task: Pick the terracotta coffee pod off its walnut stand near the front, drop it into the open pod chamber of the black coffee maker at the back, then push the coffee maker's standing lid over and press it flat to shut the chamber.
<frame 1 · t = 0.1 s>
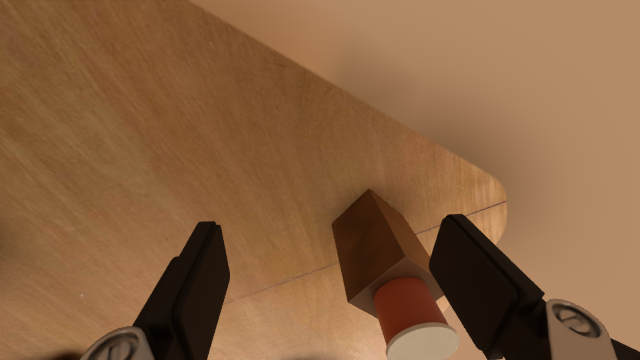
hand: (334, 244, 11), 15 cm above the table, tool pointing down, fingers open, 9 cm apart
pod: (400, 296, 20), point 10 cm above the table, touching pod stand
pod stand: (367, 220, 29), on the table
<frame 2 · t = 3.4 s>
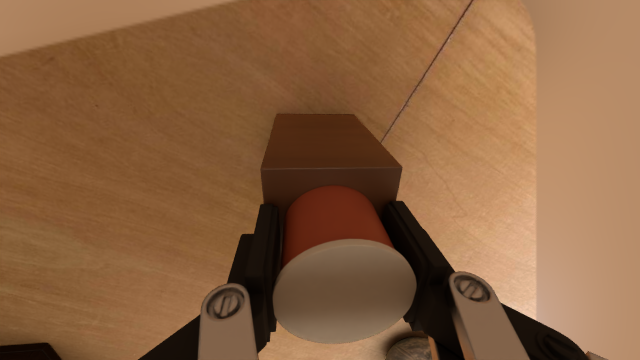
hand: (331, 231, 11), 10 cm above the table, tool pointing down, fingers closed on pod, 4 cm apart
pod: (330, 225, 12), point 10 cm above the table, touching gripper, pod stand
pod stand: (315, 150, 21), on the table
mug 2: (410, 337, 35), on the table
when the fingers open (8 cm above the table, at t = 15.1 s): pod stays where it is, resting on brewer.
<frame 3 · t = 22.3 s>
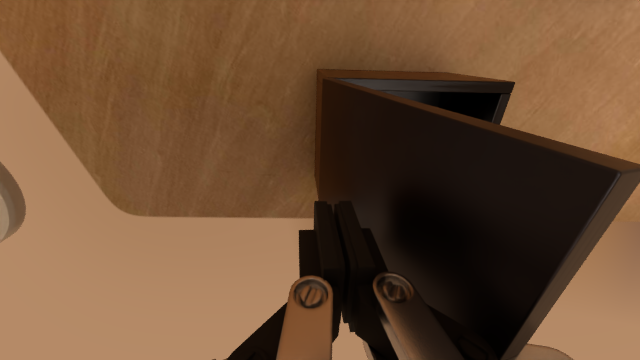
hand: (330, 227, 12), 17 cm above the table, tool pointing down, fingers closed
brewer: (376, 127, 28), on the table
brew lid: (370, 214, 13), point 16 cm above the table, hinge at 77.5°
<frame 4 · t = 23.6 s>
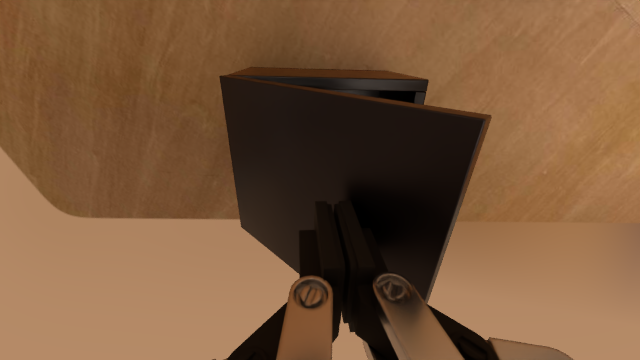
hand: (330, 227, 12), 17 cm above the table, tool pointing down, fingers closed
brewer: (318, 127, 27), on the table
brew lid: (306, 198, 14), point 15 cm above the table, hinge at 47.8°, touching gripper
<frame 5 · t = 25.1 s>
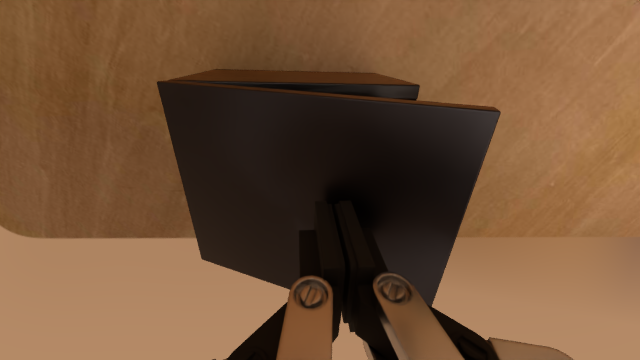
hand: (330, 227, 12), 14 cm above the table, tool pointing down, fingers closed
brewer: (298, 136, 24), on the table
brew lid: (297, 209, 13), point 12 cm above the table, hinge at 25.4°, touching gripper
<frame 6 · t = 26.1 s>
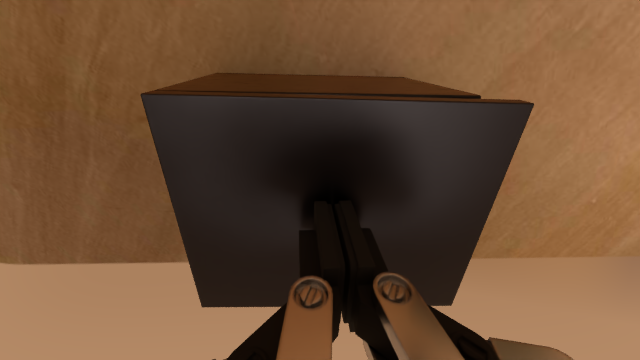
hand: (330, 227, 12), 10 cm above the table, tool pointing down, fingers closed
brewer: (312, 150, 21), on the table
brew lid: (333, 221, 12), point 10 cm above the table, hinge at 3.7°
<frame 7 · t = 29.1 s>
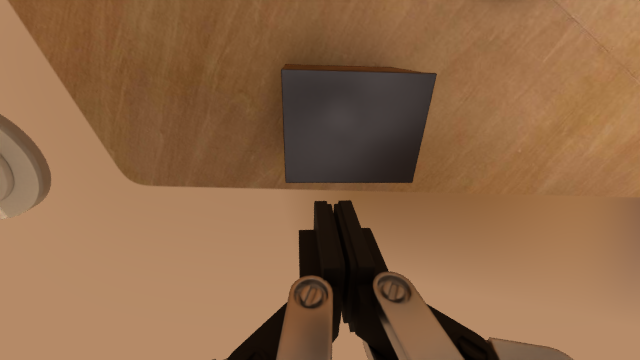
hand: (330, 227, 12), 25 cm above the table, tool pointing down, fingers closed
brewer: (336, 112, 34), on the table
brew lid: (354, 131, 26), point 10 cm above the table, hinge at 2.0°
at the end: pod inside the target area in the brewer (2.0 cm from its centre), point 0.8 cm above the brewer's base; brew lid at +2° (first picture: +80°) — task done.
